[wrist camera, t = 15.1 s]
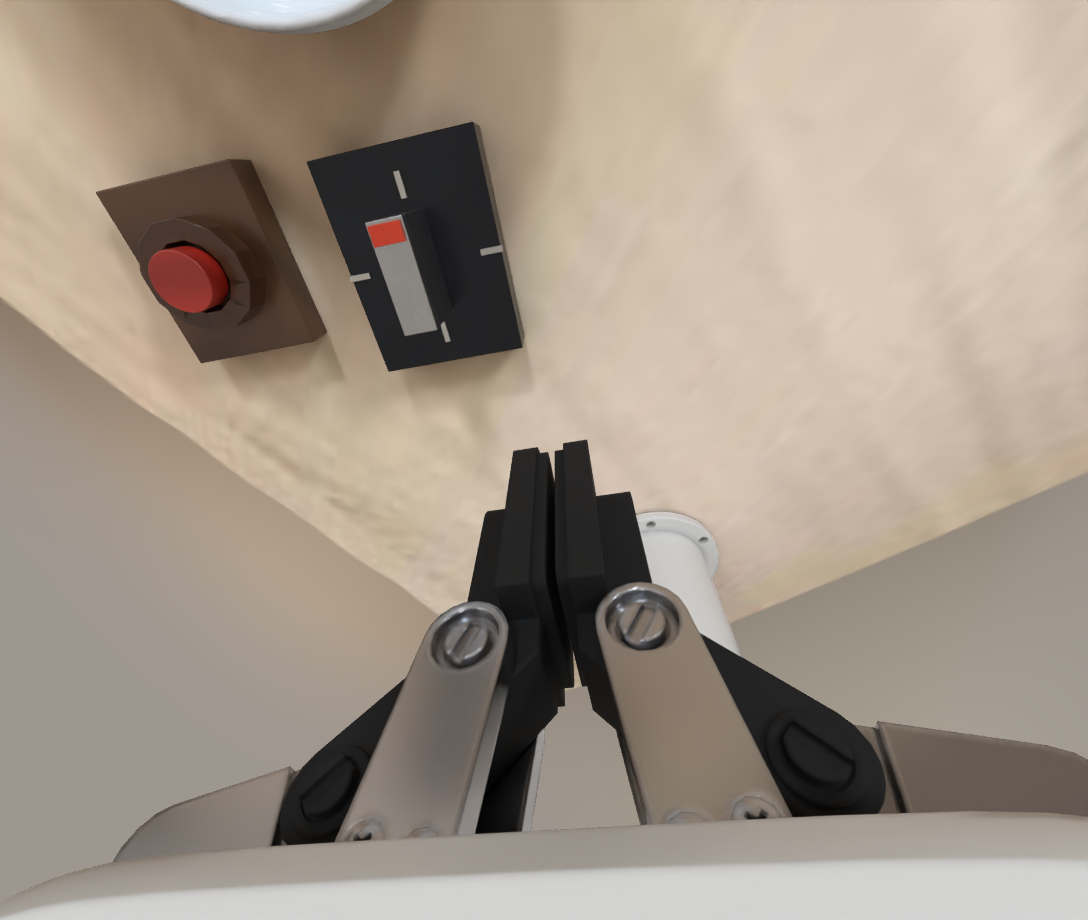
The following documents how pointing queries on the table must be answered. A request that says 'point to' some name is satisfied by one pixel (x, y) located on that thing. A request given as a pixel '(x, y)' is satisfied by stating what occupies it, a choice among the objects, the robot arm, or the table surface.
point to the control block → (221, 256)
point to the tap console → (458, 232)
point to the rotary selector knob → (411, 270)
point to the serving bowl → (285, 13)
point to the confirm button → (188, 278)
